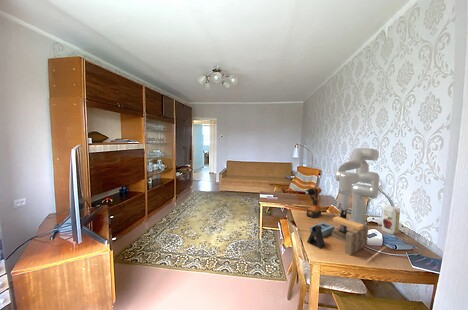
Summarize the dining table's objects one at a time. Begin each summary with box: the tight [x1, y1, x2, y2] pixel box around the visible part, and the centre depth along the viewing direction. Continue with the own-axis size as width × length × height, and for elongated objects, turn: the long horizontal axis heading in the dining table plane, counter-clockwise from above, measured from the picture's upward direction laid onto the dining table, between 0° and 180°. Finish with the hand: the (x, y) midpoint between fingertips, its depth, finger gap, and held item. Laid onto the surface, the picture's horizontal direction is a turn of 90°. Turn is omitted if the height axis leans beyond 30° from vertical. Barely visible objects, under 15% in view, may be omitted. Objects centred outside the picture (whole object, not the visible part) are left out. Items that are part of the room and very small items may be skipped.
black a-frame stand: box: [306, 224, 326, 249], centre depth 125 cm, size 9×6×12 cm, turn 37°
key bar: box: [332, 216, 364, 230], centre depth 124 cm, size 6×16×2 cm, turn 35°
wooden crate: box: [331, 224, 369, 256], centre depth 125 cm, size 23×18×13 cm
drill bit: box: [339, 224, 348, 234], centre depth 132 cm, size 4×4×12 cm
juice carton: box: [381, 204, 401, 235], centre depth 143 cm, size 8×9×19 cm
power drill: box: [304, 186, 322, 219], centre depth 171 cm, size 22×7×25 cm, turn 129°
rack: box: [309, 221, 336, 238], centre depth 139 cm, size 16×9×5 cm, turn 125°
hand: (343, 219), depth 131 cm, fingers closed
